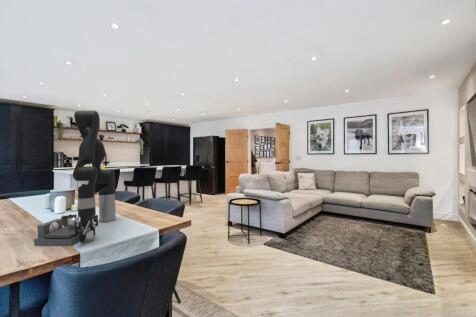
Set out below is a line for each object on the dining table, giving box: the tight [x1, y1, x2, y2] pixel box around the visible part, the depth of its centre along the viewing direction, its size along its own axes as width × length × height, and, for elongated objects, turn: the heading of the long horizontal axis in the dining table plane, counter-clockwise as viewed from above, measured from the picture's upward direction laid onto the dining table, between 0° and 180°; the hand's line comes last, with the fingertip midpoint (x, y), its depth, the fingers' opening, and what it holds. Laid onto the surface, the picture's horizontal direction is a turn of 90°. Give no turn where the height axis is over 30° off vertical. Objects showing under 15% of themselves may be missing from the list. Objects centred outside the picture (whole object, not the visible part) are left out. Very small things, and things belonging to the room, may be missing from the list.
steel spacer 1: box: [68, 216, 80, 229], centre depth 126 cm, size 5×5×5 cm
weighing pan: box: [43, 226, 90, 238], centre depth 122 cm, size 15×13×1 cm
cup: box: [60, 213, 78, 227], centre depth 138 cm, size 8×7×8 cm
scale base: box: [33, 218, 90, 247], centre depth 122 cm, size 16×18×9 cm
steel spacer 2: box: [81, 230, 95, 244], centre depth 119 cm, size 5×5×5 cm
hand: (87, 238), depth 119 cm, fingers open, 7 cm apart
